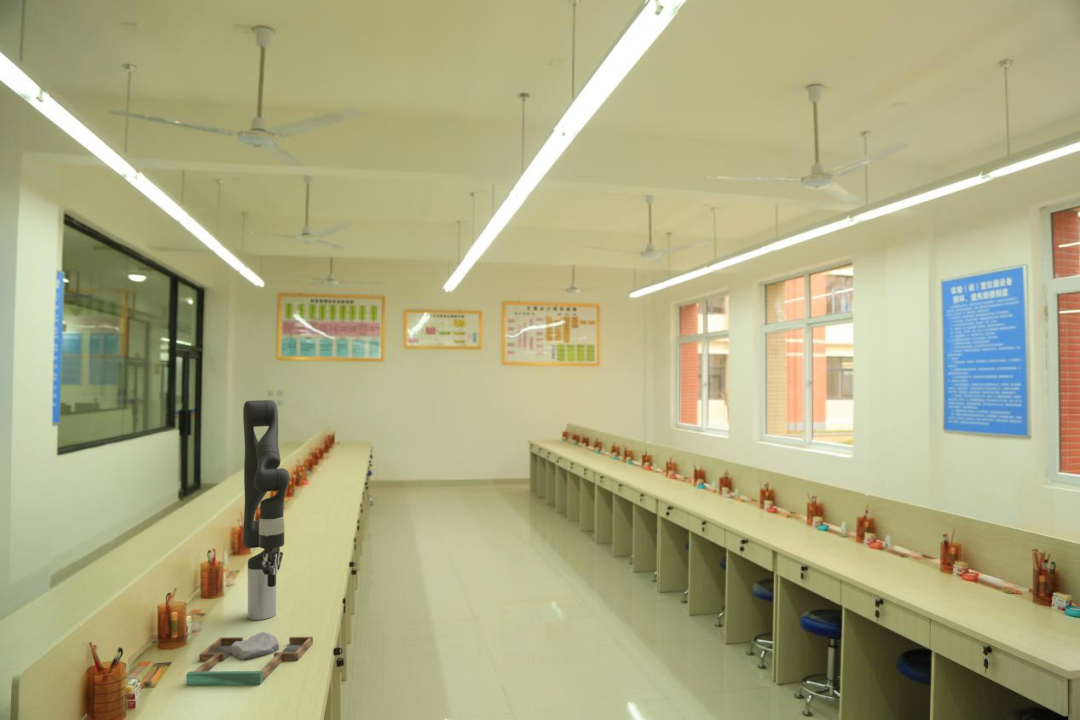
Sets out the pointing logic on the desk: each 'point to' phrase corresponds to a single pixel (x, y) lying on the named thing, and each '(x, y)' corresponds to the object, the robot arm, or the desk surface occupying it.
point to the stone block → (255, 646)
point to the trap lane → (222, 651)
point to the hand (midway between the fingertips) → (271, 586)
